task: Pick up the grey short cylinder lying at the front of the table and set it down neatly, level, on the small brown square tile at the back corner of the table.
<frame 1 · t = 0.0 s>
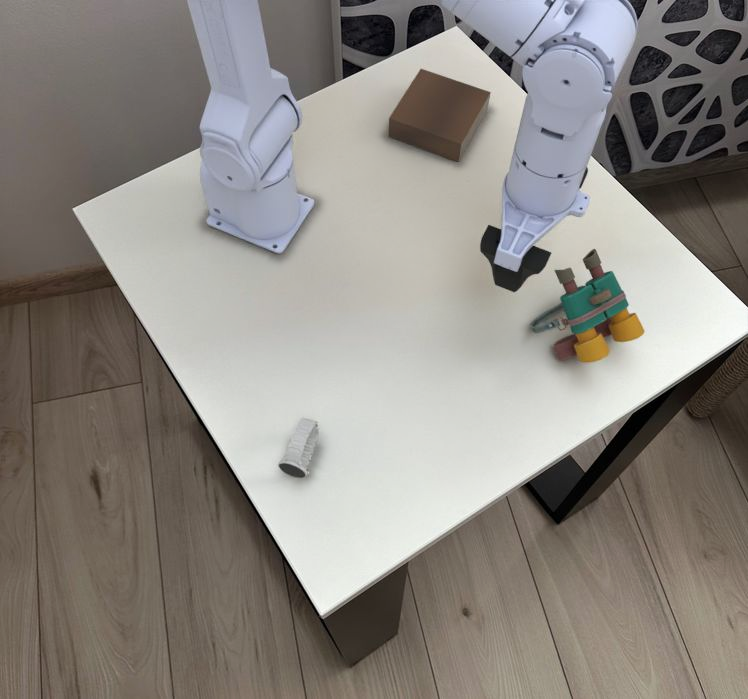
hand: (521, 254, 70), 10 cm above the table, tool pointing down, fingers open, 7 cm apart
brown square tile: (438, 123, 92), on the table
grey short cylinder: (304, 458, 72), on the table
binoculars: (577, 341, 78), on the table
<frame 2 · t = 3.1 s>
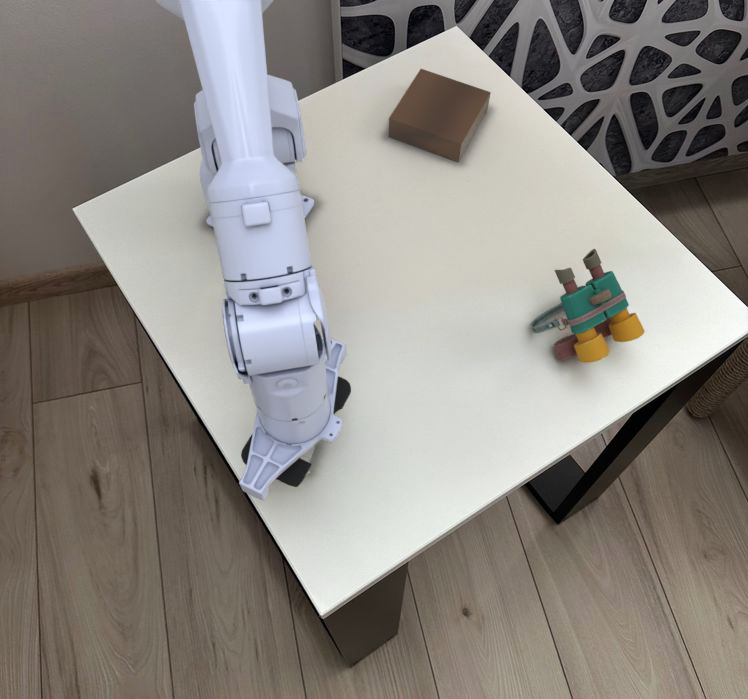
hand: (303, 451, 70), 2 cm above the table, tool pointing down, fingers closed on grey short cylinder, 5 cm apart
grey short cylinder: (305, 457, 72), on the table, touching gripper
everything else where it was.
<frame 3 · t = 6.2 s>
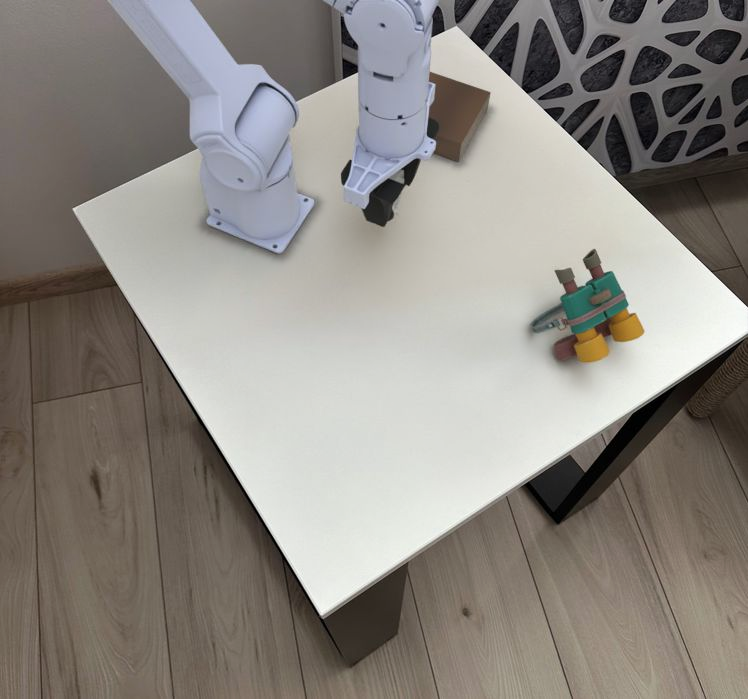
hand: (389, 200, 75), 8 cm above the table, tool pointing down, fingers closed on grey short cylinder, 5 cm apart
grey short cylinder: (389, 212, 77), point 7 cm above the table, touching gripper
everything else where it was.
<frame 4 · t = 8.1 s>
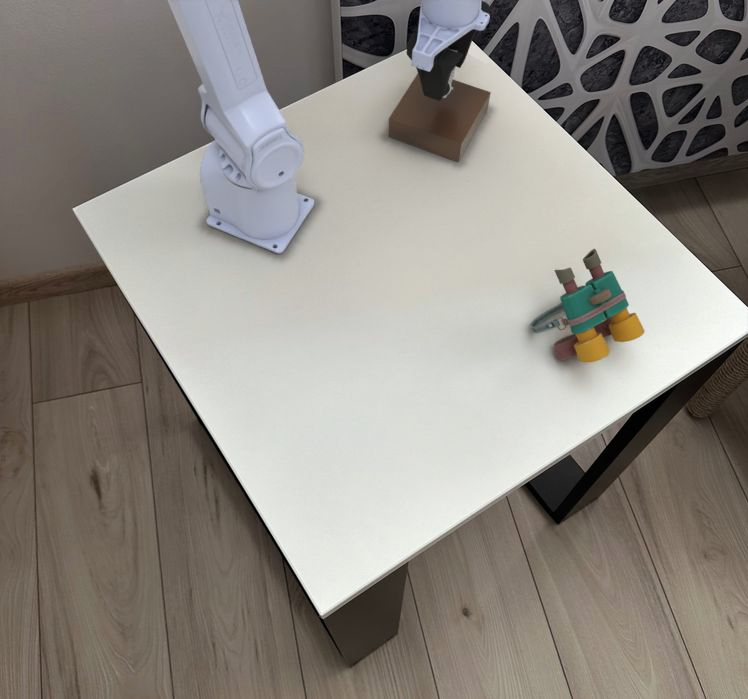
hand: (443, 79, 86), 7 cm above the table, tool pointing down, fingers closed on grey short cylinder, 5 cm apart
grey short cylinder: (443, 92, 87), point 5 cm above the table, touching gripper
everything else where it was.
when the fingers open (5 cm above the table, at t = 9.3 s): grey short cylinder stays where it is, resting on brown square tile.
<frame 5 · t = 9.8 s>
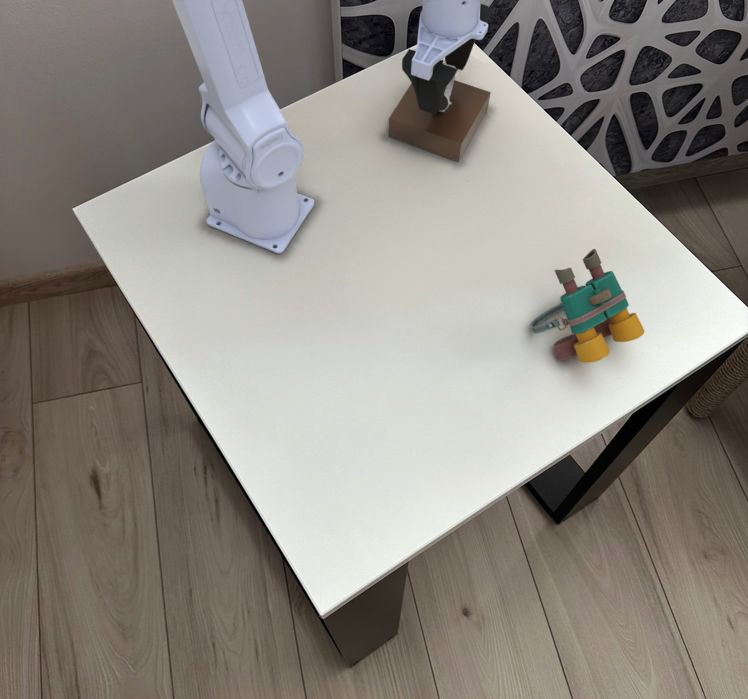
hand: (442, 87, 87), 6 cm above the table, tool pointing down, fingers open, 7 cm apart
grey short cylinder: (441, 106, 89), point 3 cm above the table, touching brown square tile
everything else where it was.
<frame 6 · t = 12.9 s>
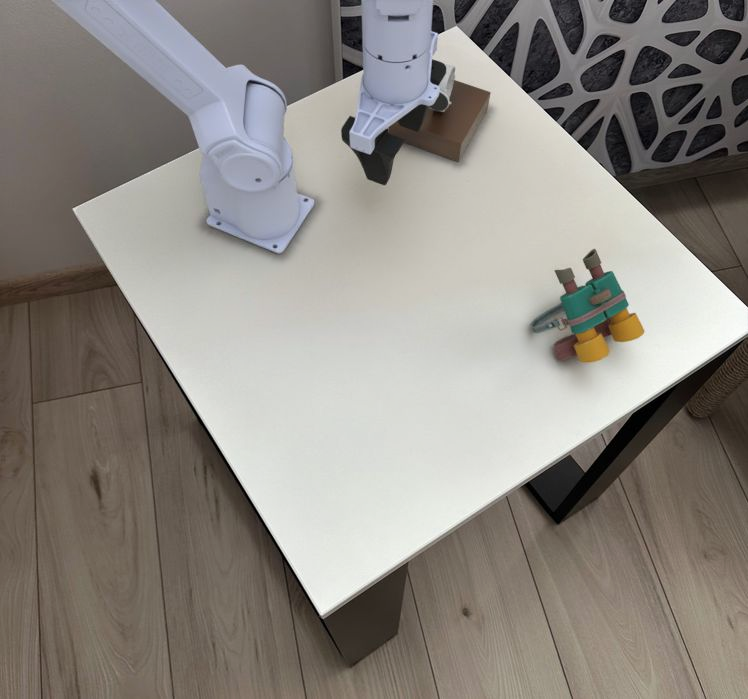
hand: (394, 152, 76), 10 cm above the table, tool pointing down, fingers open, 7 cm apart
nothing on the table moved.
at the end: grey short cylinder inside the target area on the brown square tile (0.2 cm from its centre), point 2.8 cm above the brown square tile's base; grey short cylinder tilted 0° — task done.
